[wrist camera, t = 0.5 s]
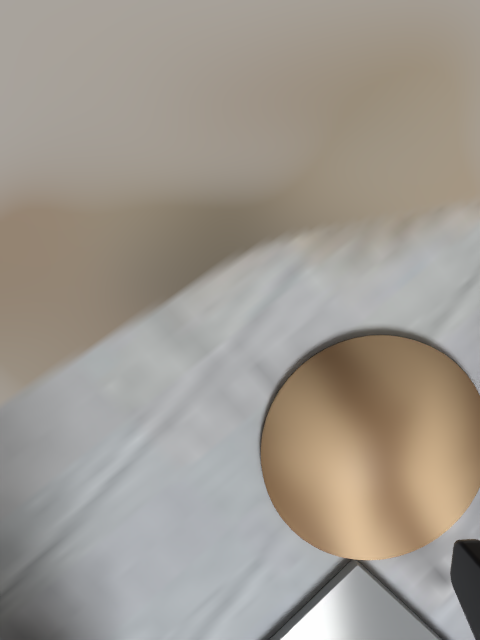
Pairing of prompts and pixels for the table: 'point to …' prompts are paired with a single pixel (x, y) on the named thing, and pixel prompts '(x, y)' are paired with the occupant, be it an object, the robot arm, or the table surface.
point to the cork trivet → (373, 447)
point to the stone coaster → (355, 612)
